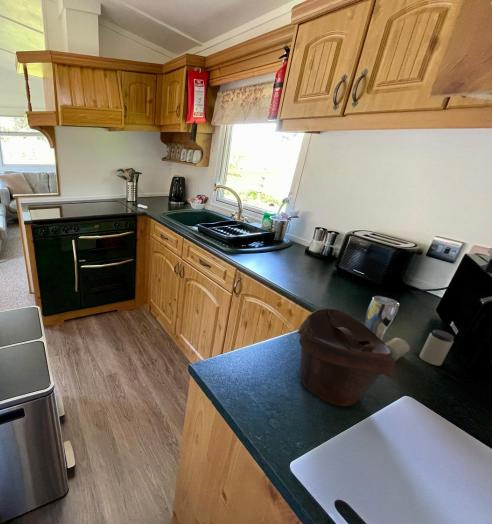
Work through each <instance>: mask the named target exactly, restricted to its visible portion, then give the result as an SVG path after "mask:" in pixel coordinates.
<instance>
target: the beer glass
mask: <svg viewBox="0 0 492 524" xmlns="http://www.w3.org/2000/svg"><path fill="white" fill-rule="evenodd" d="M400 305H401V304H400V303H399V301H397V300H395V299H393V298H390V297H386V296H381V295H375V296H373V297H372V299H371V301H370V303H369V304H368V307H367V310H366V313H365V320H364V325H365V326H366V327H367V328H369V329H370V330H371V331H372V332H373V333H374V334H375V335H376V336H377V337H378V338H379V339H380V340H382V341H383V342H384V337H385V335H386V334H387V332H388V331H389V330H390V328H391V327H392V326H393V324H394V322H395V320H396V319H397V315H398V312H399V309H400Z"/></svg>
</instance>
